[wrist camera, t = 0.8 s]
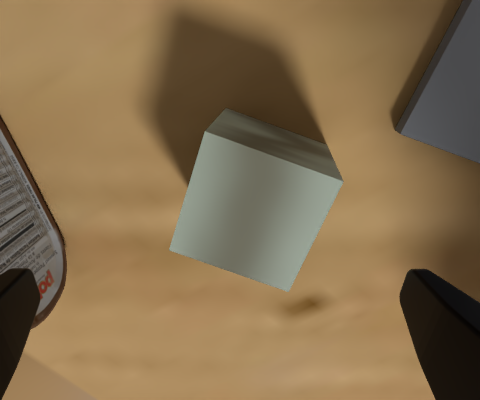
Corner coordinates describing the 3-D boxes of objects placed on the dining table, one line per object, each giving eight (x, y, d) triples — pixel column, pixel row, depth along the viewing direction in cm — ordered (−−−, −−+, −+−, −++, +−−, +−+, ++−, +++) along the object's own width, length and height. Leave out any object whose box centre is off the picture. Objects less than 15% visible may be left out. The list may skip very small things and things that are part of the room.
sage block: (326, 144, 20) (343, 181, 15) (286, 232, 23) (288, 291, 17) (226, 107, 20) (204, 130, 14) (196, 200, 22) (169, 250, 17)
